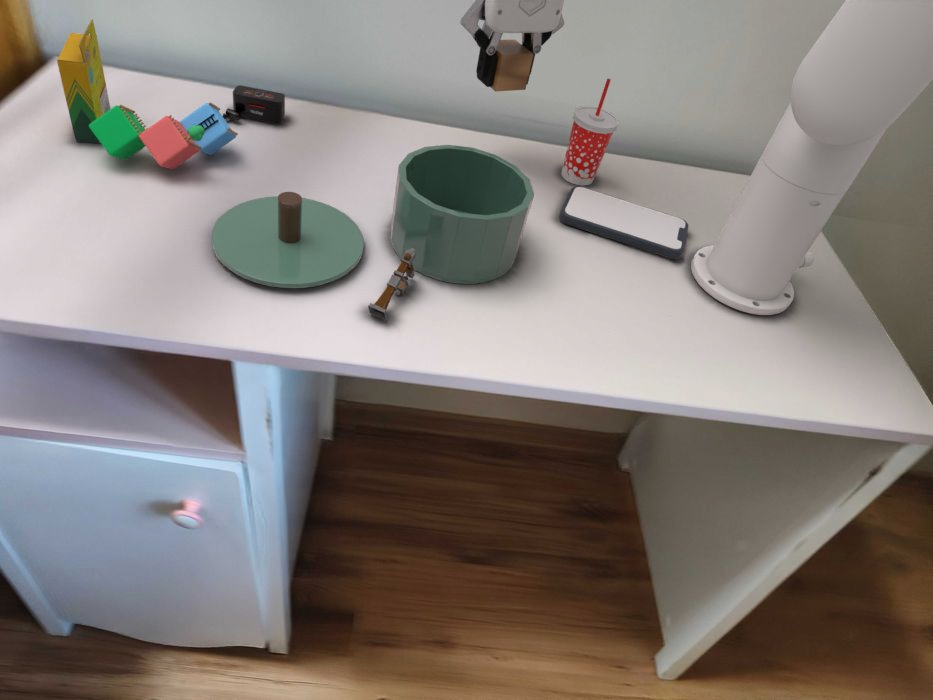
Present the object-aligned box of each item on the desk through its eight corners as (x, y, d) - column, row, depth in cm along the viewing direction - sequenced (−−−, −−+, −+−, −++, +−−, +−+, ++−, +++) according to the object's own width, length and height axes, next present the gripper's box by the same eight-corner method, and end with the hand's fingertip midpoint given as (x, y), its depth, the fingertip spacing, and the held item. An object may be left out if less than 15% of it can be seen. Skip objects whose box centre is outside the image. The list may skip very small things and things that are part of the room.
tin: (477, 201, 88) (491, 140, 82) (538, 272, 79) (558, 209, 73) (370, 216, 81) (377, 150, 75) (424, 294, 73) (436, 227, 67)
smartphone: (555, 224, 88) (678, 264, 86) (559, 213, 87) (683, 253, 84) (570, 193, 94) (685, 229, 92) (573, 182, 93) (689, 219, 91)
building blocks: (159, 192, 85) (239, 136, 84) (130, 186, 77) (218, 124, 76) (119, 136, 84) (199, 79, 83) (85, 124, 75) (174, 61, 75)
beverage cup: (590, 193, 94) (625, 95, 85) (549, 177, 96) (579, 78, 86) (603, 176, 99) (637, 80, 89) (564, 160, 100) (593, 64, 90)
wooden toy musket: (423, 270, 74) (421, 247, 70) (388, 331, 71) (384, 311, 67) (408, 264, 74) (405, 241, 70) (372, 325, 71) (367, 304, 67)
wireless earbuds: (232, 106, 93) (231, 83, 91) (285, 117, 94) (285, 94, 92) (222, 122, 90) (220, 98, 88) (277, 132, 91) (277, 109, 88)
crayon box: (86, 112, 86) (66, 14, 78) (112, 114, 86) (95, 18, 79) (73, 142, 81) (51, 41, 73) (101, 144, 81) (82, 44, 73)
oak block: (507, 74, 92) (514, 39, 89) (525, 89, 89) (533, 53, 86) (477, 76, 90) (484, 39, 87) (495, 91, 87) (502, 55, 84)
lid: (333, 198, 82) (335, 152, 78) (385, 278, 73) (391, 231, 69) (196, 214, 75) (191, 165, 71) (235, 305, 66) (232, 255, 62)
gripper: (486, -74, 71) (458, 98, 83) (613, -66, 79) (570, 90, 91) (452, -94, 75) (430, 71, 88) (576, -85, 83) (540, 66, 95)
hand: (502, 80), depth 89 cm, fingers closed on oak block, 4 cm apart
